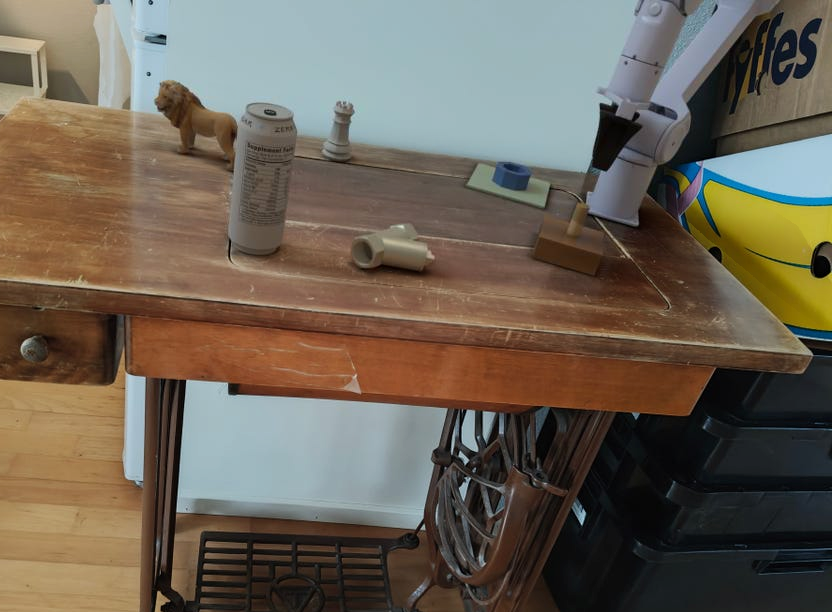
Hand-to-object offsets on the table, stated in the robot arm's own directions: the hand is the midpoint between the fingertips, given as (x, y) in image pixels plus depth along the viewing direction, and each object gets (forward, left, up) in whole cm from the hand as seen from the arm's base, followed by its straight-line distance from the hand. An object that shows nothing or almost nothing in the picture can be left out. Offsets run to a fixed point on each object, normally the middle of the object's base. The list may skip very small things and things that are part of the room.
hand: (599, 163), depth 100 cm
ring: (-8, -11, -9) cm, 16 cm away
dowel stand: (+13, -1, -9) cm, 16 cm away
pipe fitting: (+31, -20, -9) cm, 38 cm away
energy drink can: (+36, -35, -9) cm, 51 cm away
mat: (-8, -11, -9) cm, 17 cm away
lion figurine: (+16, -52, -9) cm, 55 cm away
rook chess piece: (+1, -37, -9) cm, 38 cm away
